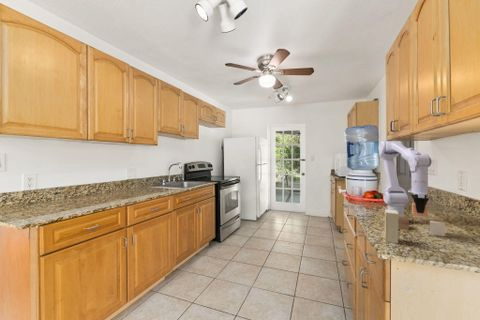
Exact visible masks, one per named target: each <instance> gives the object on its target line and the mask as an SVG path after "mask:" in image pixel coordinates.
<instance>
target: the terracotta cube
mask: <svg viewBox="0 0 480 320" xmlns="http://www.w3.org/2000/svg"><path fill="white" fill-rule="evenodd" d="M428 211H429V206H428V204H427V203H426V206H425V210H424V213H417V210H416V205H415V203H414V202H412V203H411V213H412V216H413V217H415V216H416V217H422V218H428V215H429V212H428Z"/></svg>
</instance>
